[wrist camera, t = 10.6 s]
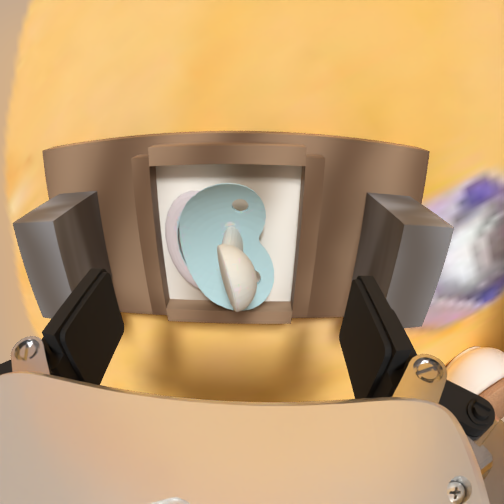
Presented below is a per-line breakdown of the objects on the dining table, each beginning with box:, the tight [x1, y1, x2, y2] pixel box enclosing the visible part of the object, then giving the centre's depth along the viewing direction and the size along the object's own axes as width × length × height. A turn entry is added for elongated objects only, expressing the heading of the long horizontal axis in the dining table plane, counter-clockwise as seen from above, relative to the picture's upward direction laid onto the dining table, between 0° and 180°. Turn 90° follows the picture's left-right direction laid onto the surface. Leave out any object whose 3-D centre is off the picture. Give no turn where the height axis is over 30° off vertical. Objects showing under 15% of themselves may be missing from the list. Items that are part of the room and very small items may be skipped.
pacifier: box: [165, 183, 274, 312], centre depth 15 cm, size 7×6×6 cm
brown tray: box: [13, 131, 454, 328], centre depth 16 cm, size 24×12×6 cm, turn 89°
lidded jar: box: [446, 346, 504, 422], centre depth 23 cm, size 11×11×9 cm
